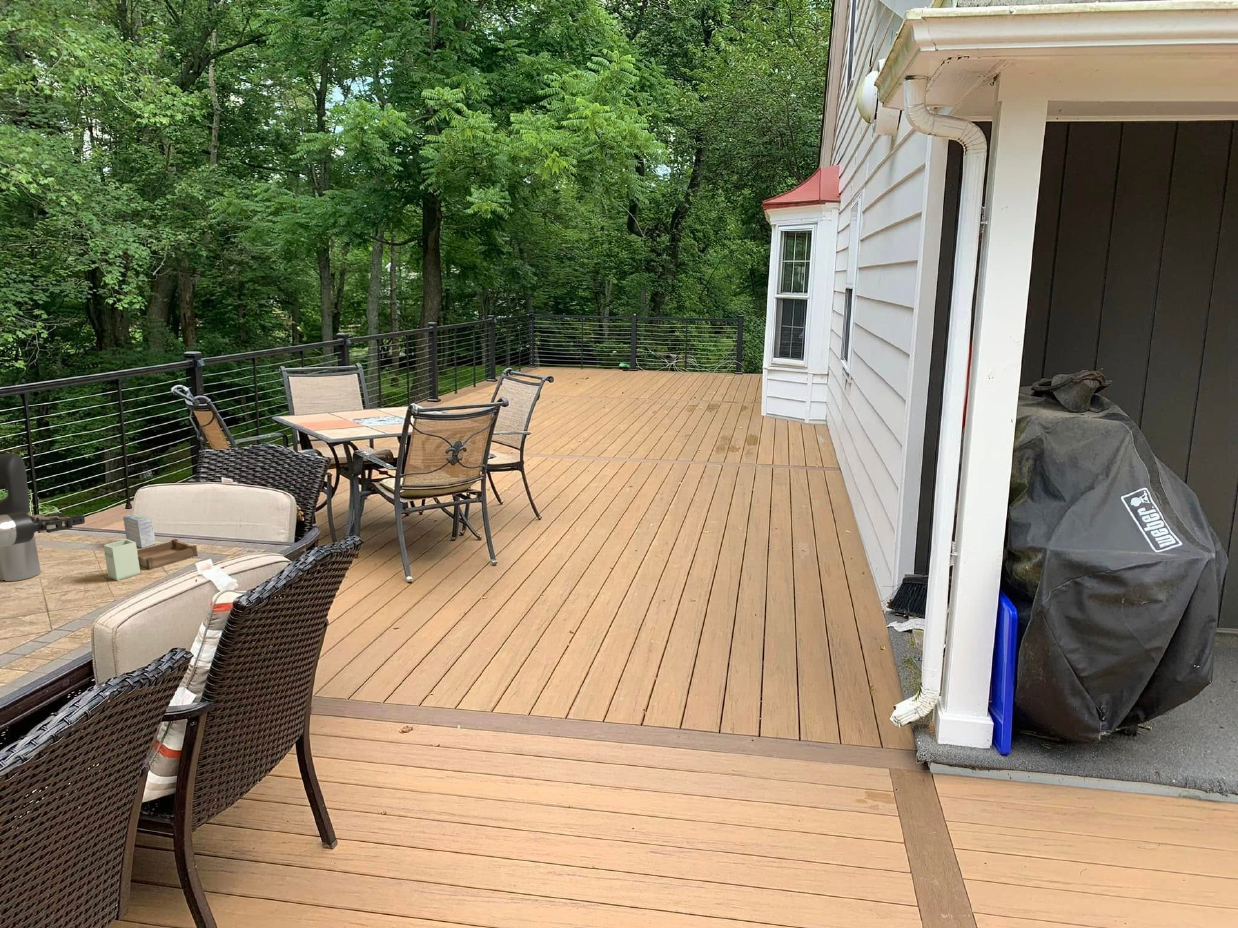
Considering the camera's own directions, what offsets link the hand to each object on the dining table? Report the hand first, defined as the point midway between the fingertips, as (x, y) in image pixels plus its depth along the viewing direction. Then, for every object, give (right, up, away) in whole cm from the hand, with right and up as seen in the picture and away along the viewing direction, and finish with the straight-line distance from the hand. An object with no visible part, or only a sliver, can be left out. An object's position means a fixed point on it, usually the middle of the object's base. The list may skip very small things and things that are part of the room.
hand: (73, 517), depth 226 cm
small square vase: (+6, -16, +13) cm, 21 cm away
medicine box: (-4, -10, +39) cm, 41 cm away
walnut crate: (+10, -13, +26) cm, 30 cm away
